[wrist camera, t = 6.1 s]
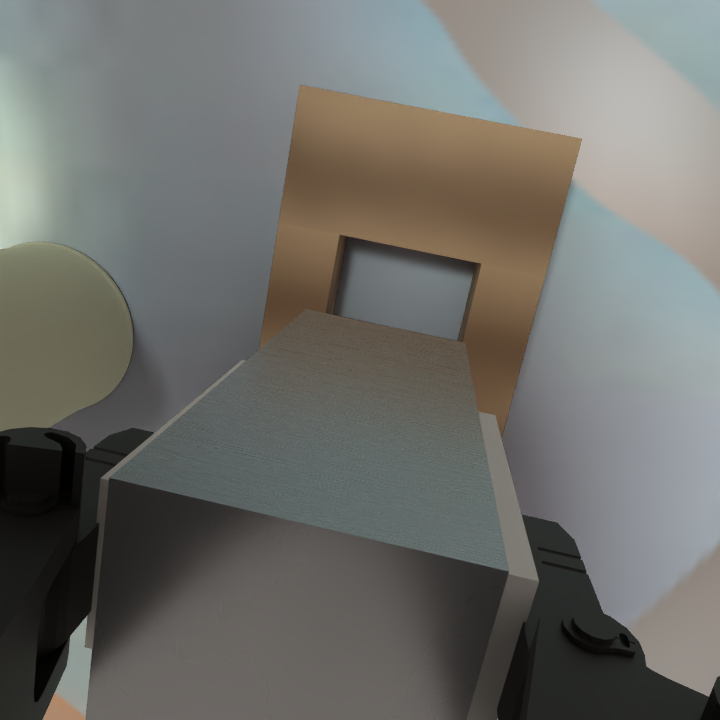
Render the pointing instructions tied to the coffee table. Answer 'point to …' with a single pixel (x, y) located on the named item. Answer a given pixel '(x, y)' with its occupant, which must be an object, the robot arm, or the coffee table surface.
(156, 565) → the grey square block
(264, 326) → the jig
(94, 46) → the coffee table surface
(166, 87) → the coffee table surface
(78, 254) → the can
